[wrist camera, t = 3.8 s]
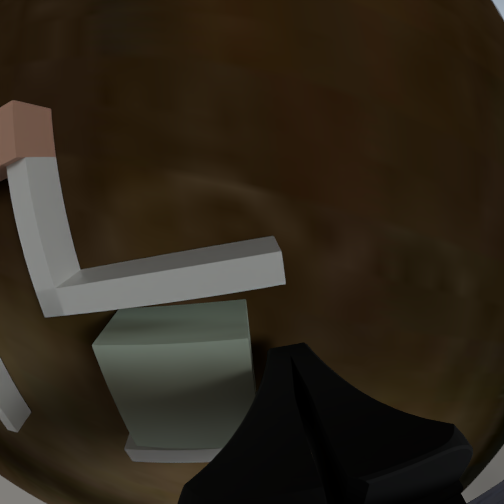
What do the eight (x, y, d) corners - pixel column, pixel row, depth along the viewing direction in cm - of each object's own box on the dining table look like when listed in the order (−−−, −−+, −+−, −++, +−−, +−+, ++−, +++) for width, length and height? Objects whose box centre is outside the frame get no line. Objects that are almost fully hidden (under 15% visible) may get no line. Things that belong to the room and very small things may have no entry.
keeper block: (257, 395, 13) (261, 444, 10) (151, 400, 13) (136, 445, 10) (245, 296, 11) (248, 338, 9) (121, 306, 11) (91, 345, 8)
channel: (297, 419, 13) (304, 450, 11) (29, 421, 13) (16, 441, 11) (252, 106, 9) (255, 91, 7) (-57, 212, 9) (-81, 219, 8)
